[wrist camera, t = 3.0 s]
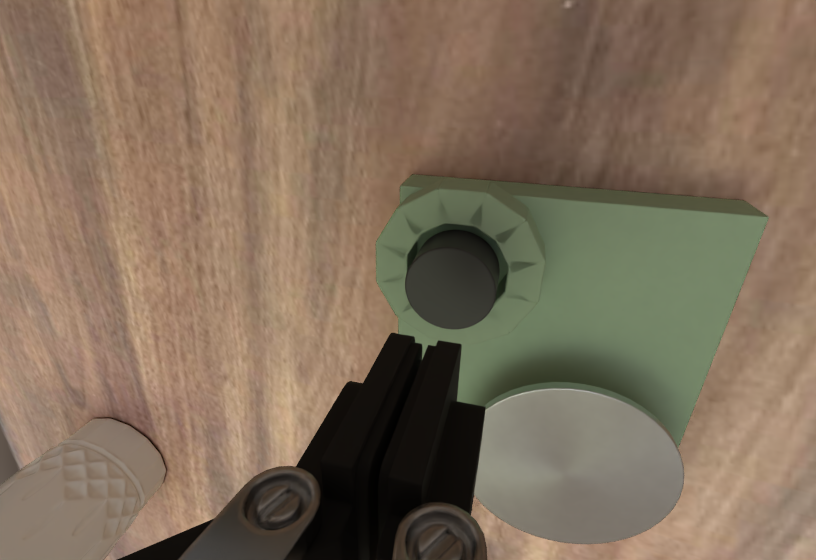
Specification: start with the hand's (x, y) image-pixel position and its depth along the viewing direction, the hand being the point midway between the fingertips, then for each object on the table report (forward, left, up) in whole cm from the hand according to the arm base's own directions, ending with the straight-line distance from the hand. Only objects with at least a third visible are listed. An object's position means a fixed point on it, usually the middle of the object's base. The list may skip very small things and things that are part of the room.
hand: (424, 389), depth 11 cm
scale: (+5, +3, -10) cm, 11 cm away
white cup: (+19, -23, -10) cm, 31 cm away
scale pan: (+8, +5, -6) cm, 11 cm away
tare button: (0, 0, -6) cm, 6 cm away
